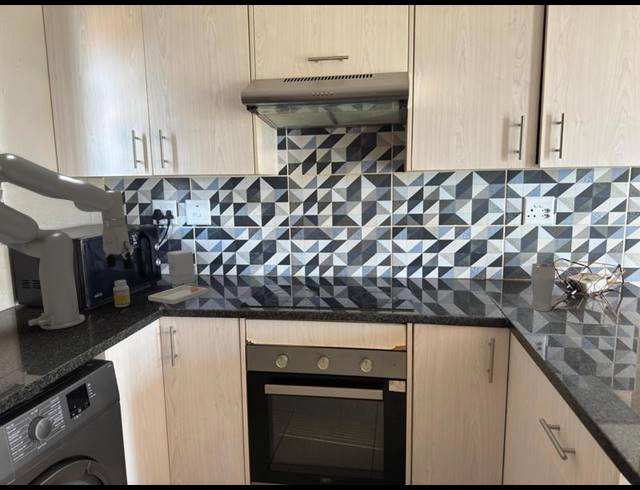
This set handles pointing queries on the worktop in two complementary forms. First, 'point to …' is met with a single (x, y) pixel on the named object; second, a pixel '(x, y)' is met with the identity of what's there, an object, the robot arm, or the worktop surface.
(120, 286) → the supplement bottle
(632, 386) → the worktop surface
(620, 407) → the worktop surface
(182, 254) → the supplement box
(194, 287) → the ball
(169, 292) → the tray
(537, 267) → the beer glass
